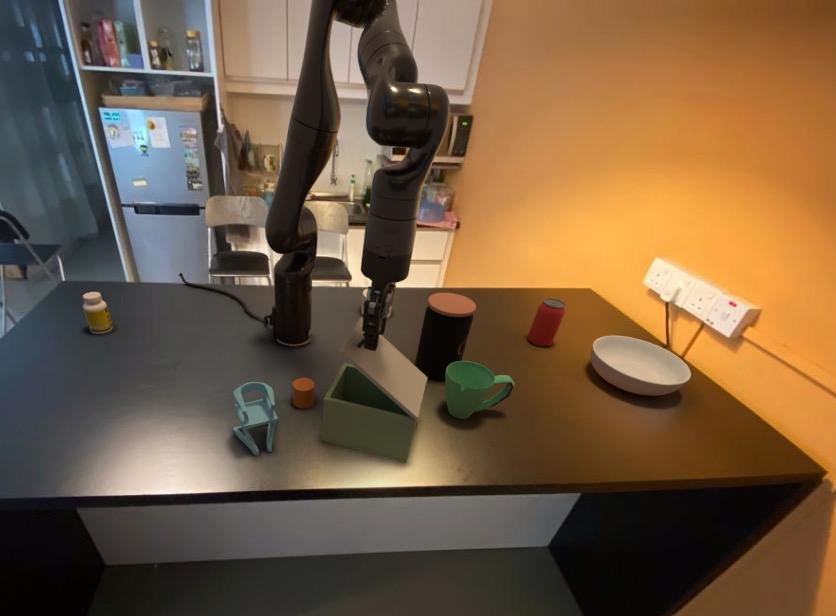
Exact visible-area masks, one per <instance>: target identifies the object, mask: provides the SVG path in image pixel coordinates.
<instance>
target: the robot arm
mask: <svg viewBox="0 0 836 616" xmlns="http://www.w3.org/2000/svg"><path fill="white" fill-rule="evenodd" d="M310 4H311V5H310V10H309V16H308V17H309V18H308V23H307V24H308V25H307V31H306V38H305V45H304V52H303V56H302V63H301V68H300V73H299V78H298V82H297V86H296V90H295V91H296V92H295V96H294V100H293V101H294V102H293V105H292V109H291V114H290V118H289V123H288V128H287V134H286V140H285V146H284V151H283V154H282V160H281V164H280V168H279V173H278V178H277V183H276V186H275V189H274V193H273V196H272V199H271V203H270V205H269V209H268V211H267V216H266V220H265V226H264V234H265V239H266V243H267V245H268V246H269V248H270V249H271V250H272V251H273V252H274V253H276V254H278V255H281V256H280V258H279V259H278V260H277V262H276V263H275V264H274V267H273V284H274V287H273V288H274V305H273V306H272V307H271V313H270V314H267V315H265V316H264V317H263V319H262V318H260V317H259V316H257V315H255V314H254V313H252V312H251V311H250V310H249V308H248V307H247V305H246V303H245V302H244V301H243V300H241V299H240V297H238V296H236V295H234V294H233V293H230V292H228V291H226V290H223V289H221V288H217V287H216V288H215V287H211V286H208V285H203V284H196V283H191V282H188V281H187V280H186V278H185V277H184V273H183V272H179V274H178V277H180V279H181V281H182V282H183V283H184V284H185V285H187V286H189V287H193V288H194V287H195V288H200V289H205V290H210V291H213V292H217V293H221V294H224V295H226V296H229V297H232V298H234V299H235V300H236V301H237V302H238V303H240V304H241V305H242V308H243V309H244V311H245V313H246V314H248V315H249V316H251V317H252V318H253V319H255V320H256V321H259V322H261V323H263V324H266V325H267V324H269V326H272V340H273V341H275V342H276V343H278V344H280V345H281V346H283V347H287V348H299V347H300V348H301V347H304V346H307V345H308V344H310V342H311V341H312V333H313V326H312V303H313V297H312V296H313V272H314V270H315V267H316V264H317V254H318V253H317V252H318V240H319V229H318V222H317V218H316V216H315V214H314V213H313V211H312V210H311V209H310V208H309V207H307V206H305V203H306V200H307V197H308V196H309V193H310V192H311V190H312V188H313V187H314V185H315V184H316V182H317V181H318V179H319V178H320V177H321V175H322V173H323V171H324V170H325V168H326V167H327V164H328V163H329V161H330V159H331V156H332V154H333V151H334V148H335V146H336V140H337V137H338V135H339V130H340V127H341V120H342V114H341V111H342V110H341V104H340V100H339V95H338V92H337V87H336V83H335V79H334V74H333V70H332V62H331V35H332V29H333V28H332V27H333V24H334V22H335V21H336V22H338V23H341V24H344V25H345V26H346V25H347V26H349V27H351V28H354V29H362V32H361V34H360V36H359V40H358V43H357V52H356V56H357V57H356V58H357V64H358V68H359V71H360V74H361V77H362V80H363V82H364V85H365V88H366V99H367V103H366V111H365V112H366V113H365V128H366V132H367V135H368V136H369V138H370V139H371V141H373V142H374V143H375V144H376V145H378V146H381V147H383V148H401V149H402V148H403V149H404V148H405V149H407V151H406V153H405V155H404V156H403V158H402V159H401V160H400V161H398V162H396V163H393V164H388V165H384V166H380V167H379V168H377V169H376V170H375V172H374V173H373V177H372V180H371V188H370V200H369V206H368V208H369V209H368V215H367V218H366V223H365V227H364V234H363V235H364V236H363V244H362V254H361V262H360V273H361V274H362V275H363V276H364V277H365V278H368V279H369V280H370V281H371V284H370V285H369V286H368V287H367V289H368V290H367V300H365V302H364V313H363V314H362V318H363V326H362V331H363V332H366V333H365V341H364V348H365V349H367V350H371V351H376V349H377V346H378V340H379V335H382V336H383V335H384V334H385V331H386V324H387V319H388V318H387V315H388V313H389V312H390V310H389V307H391V306H392V307H393V302H394V295H395V292H396V290H397V283H400V282H403V281H405V280H406V279H407V278H408V277H409V273H410V267H411V262H412V257H413V251H414V246H415V241H416V235H417V223H418V215H419V210H420V203H421V199H422V192H423V188H424V185H425V182H426V180H427V177H428V175H429V173H430V170H431V168H432V165H433V162H434V161H435V158H436V156H437V154H438V151H439V150H440V147H441V145H442V144H443V141H444V139H445V137H446V134H447V131H448V128H449V125H450V119H451V103H450V102H451V101H450V98H449V95H448V93H447V92H446V90H445V88H444V87H443V86H440V85H439V84H433V83H424V82H423V83H421V82H418V81H419V69H418V65H417V62H416V59H415V57H414V54H413V52H412V50H411V48H410V45H409V44H408V42H407V39H406V36H405V35H404V32H403V30H402V26H401V22H400V17H399V11H398V5H397V0H311V3H310ZM392 307H391V308H392ZM382 320H383V325H382V327H381V324H382ZM372 323H374V324H372Z"/></svg>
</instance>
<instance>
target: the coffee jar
mask: <svg viewBox="0 0 836 616" xmlns="http://www.w3.org/2000/svg"><path fill="white" fill-rule="evenodd" d="M476 309H477V304H476V303H475V302H474V301H473V300H472V299H471V298H469V297H467V296H465V295H462V294H458V293H453V292H437V293H433V294H431V295H429V297H428V299H427V306H426V308H425V312H424V316H423V320H422V321H423V322H422V327H421V332H420V337H419V342H418V346H417V352H416V356H415V366H416V367H417V368H418V369H419V370H420V371H421V372H422V373H423V374H424V375H425V376H426V377H427V378H429V379H433V380H437V381H438V380H439V381H445V372H446V369H447V366H448V365H450V364H451V363H453V362H457V361H463V356H464V353H465V348H466V345H467V342H468V339H469V334H470V331H471V327H472V324H473V320H474V314H475V312H476Z"/></svg>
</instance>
